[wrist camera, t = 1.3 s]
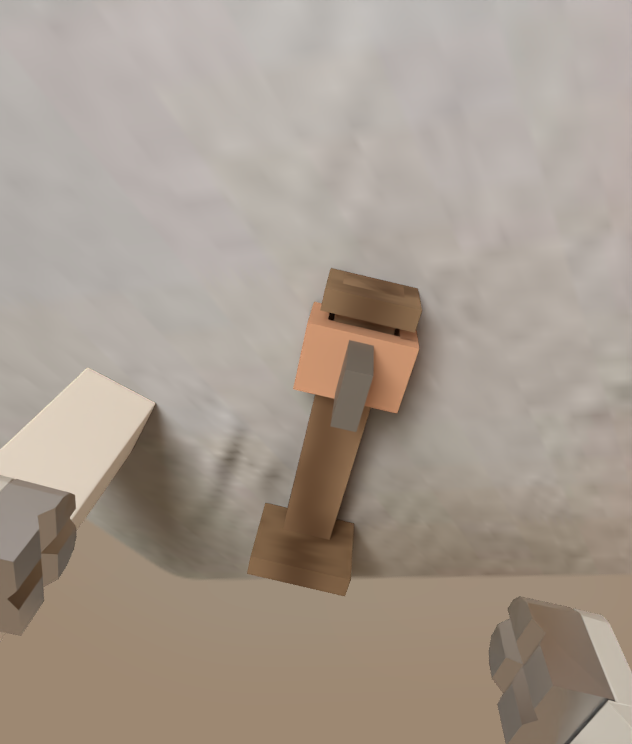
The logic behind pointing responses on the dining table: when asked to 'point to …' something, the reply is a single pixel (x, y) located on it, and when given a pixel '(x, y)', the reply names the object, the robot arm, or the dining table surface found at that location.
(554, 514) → the dining table surface
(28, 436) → the milk
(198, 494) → the dining table surface
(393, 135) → the dining table surface
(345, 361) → the slider
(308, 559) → the rail
